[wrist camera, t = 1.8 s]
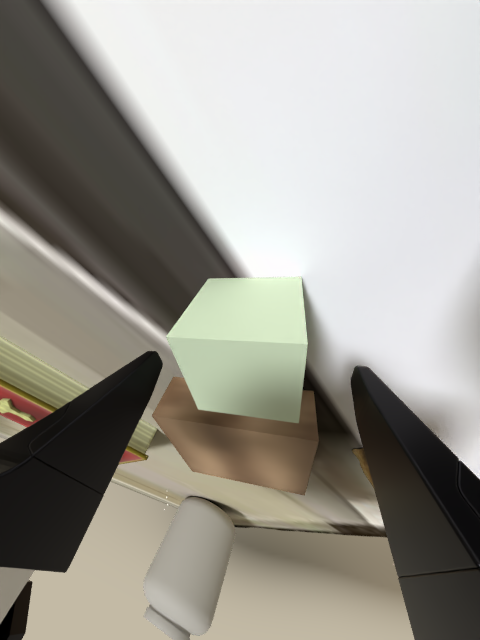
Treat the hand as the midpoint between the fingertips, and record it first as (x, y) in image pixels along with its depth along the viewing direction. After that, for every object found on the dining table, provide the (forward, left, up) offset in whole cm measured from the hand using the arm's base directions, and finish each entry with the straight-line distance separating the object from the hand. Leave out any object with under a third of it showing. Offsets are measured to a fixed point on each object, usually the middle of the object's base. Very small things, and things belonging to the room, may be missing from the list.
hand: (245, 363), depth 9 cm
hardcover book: (+25, +14, -4) cm, 29 cm away
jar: (+17, +57, -4) cm, 60 cm away
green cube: (0, 0, -4) cm, 4 cm away
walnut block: (+2, +13, -4) cm, 14 cm away
